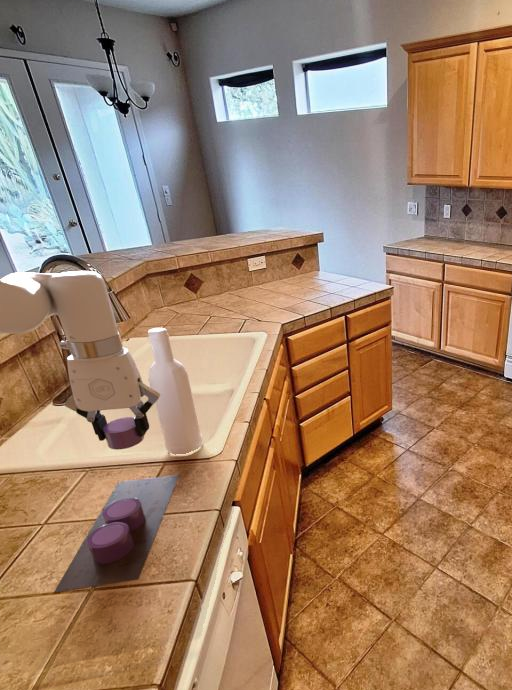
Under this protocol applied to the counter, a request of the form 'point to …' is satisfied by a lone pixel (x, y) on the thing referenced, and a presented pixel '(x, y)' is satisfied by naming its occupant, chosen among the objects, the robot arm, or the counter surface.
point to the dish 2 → (121, 433)
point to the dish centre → (125, 513)
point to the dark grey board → (128, 568)
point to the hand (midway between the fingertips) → (124, 434)
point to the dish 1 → (110, 542)
